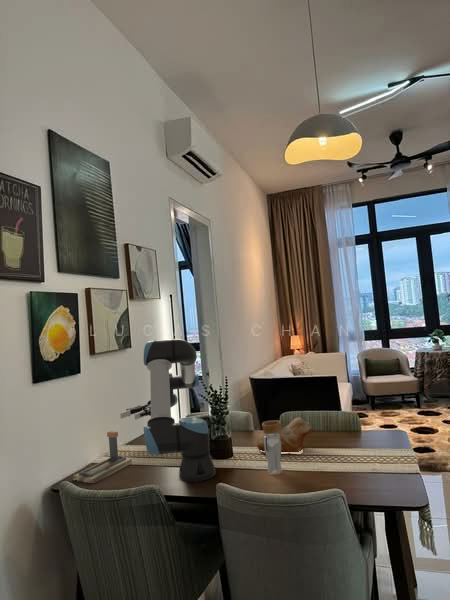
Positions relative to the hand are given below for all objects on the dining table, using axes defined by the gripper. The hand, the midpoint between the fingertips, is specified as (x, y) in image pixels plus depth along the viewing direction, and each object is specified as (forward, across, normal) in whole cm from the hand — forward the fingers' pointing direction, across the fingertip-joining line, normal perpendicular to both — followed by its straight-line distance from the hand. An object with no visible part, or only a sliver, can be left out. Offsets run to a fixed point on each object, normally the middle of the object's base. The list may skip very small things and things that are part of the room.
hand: (128, 416), depth 206 cm
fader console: (+18, 0, -20) cm, 27 cm away
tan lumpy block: (-29, -69, -20) cm, 78 cm away
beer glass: (-3, -74, -20) cm, 77 cm away
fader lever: (+11, 0, -18) cm, 21 cm away
